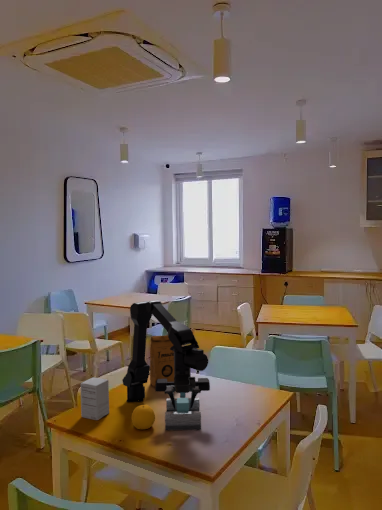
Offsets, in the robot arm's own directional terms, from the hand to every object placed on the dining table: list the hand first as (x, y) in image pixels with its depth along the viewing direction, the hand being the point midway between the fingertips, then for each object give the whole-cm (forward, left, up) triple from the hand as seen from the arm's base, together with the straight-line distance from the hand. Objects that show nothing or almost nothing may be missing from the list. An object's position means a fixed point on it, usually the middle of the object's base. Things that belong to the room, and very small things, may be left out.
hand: (182, 409), depth 149 cm
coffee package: (-8, +39, -5) cm, 41 cm away
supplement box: (-32, +7, -5) cm, 33 cm away
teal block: (0, 0, -3) cm, 3 cm away
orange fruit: (-13, -4, -5) cm, 15 cm away
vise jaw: (0, +9, -3) cm, 10 cm away
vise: (0, +2, -4) cm, 5 cm away
